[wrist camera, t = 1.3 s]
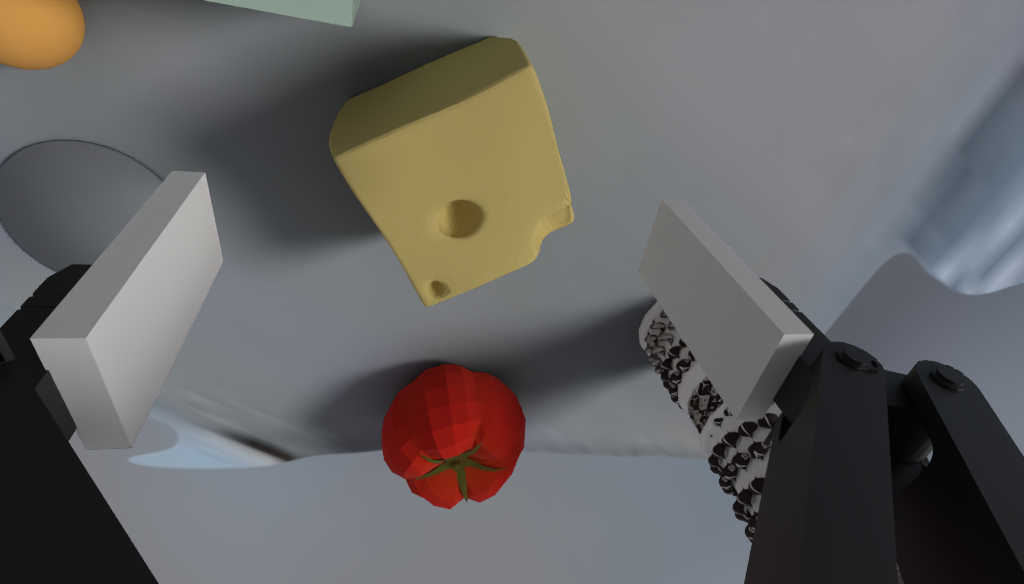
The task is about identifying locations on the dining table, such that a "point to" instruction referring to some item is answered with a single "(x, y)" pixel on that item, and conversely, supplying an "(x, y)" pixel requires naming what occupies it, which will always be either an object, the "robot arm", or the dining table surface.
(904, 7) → the dining table surface
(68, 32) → the ball
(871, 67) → the dining table surface
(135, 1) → the dining table surface
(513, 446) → the tomato
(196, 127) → the dining table surface
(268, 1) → the sage green cube
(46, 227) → the disc
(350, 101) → the cheese
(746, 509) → the decorative candle
